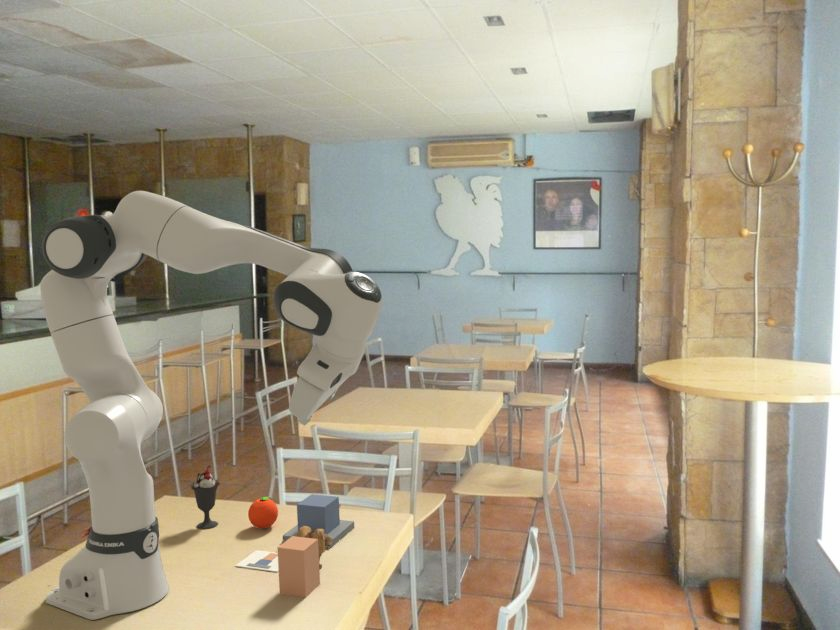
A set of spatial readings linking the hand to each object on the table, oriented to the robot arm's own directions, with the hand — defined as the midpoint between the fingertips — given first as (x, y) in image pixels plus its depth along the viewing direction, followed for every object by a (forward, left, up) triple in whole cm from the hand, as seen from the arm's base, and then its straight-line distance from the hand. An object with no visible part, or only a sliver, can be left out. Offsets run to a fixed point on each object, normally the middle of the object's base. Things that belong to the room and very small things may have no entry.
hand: (316, 409), depth 135 cm
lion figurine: (-6, +7, -34) cm, 36 cm away
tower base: (-12, +22, -34) cm, 42 cm away
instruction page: (-16, +6, -34) cm, 38 cm away
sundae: (-41, +20, -34) cm, 57 cm away
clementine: (-27, +23, -34) cm, 49 cm away
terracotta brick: (-3, -3, -34) cm, 35 cm away
